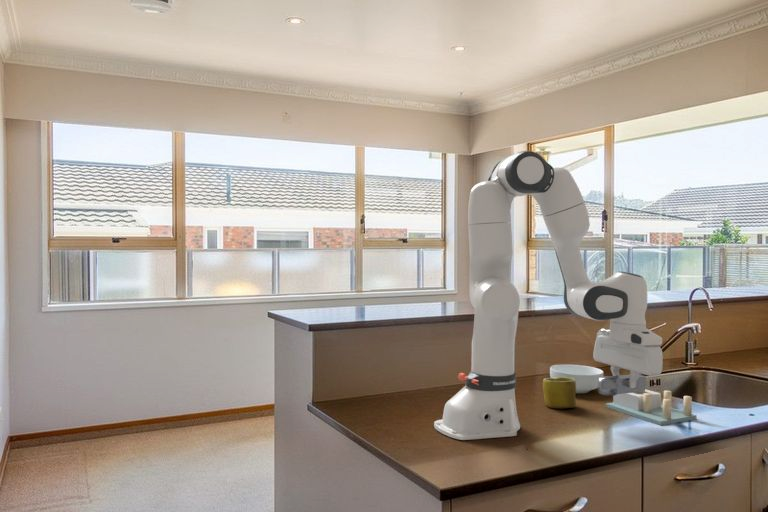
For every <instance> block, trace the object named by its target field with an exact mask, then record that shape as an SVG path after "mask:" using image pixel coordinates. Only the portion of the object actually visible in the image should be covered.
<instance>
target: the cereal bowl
mask: <svg viewBox="0 0 768 512" xmlns="http://www.w3.org/2000/svg"><path fill="white" fill-rule="evenodd" d="M599 376H605V375H604V371H603V370H602V369H600V368H597V367H593V366H590V365H589V366H588V365H581V364H566V363H565V364H554V365H551V366H550V367H549V378H552V377H556V378H560V377H562V378H572V379H575V381H576V394H587V393H589V392H590V391H592V390H596V389H598V380H599Z"/></svg>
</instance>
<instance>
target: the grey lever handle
mask: <svg viewBox="0 0 768 512" xmlns="http://www.w3.org/2000/svg"><path fill="white" fill-rule="evenodd" d="M631 376H632V375H630V374H623V375H622V374H620V375H619V376H613V375H609V376H608V375H607V376H606V375H604V376H599V380H598V388H597V393H598V394H600V395H603V396H610V397H611V396H612V397H613V396H615V395H617V394H624V393H634V392H643V391H645V389H646V380H647V375H643V374H640V377H639V378H638V380H637V381H636V387H635V388H630V387H627V380H630V378H631Z"/></svg>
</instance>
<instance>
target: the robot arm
mask: <svg viewBox="0 0 768 512" xmlns="http://www.w3.org/2000/svg"><path fill="white" fill-rule="evenodd" d="M527 195H528V196H531V197H532V198H533V199H534V200H535V201H536V202H537V205H539V209H540V212H541V216H542V217H543V218H542V219H543V221H544V224H545V226H546V229H547V231H548V234H549V236H550V238H551V243H552V244H553V248H554V251H555V254H556V255H555V256H556V259H557V263H558V266H559V269H560V273H561V275H562V279H563V285H564V289H563V302H564V306H565V308H566V309H567V311H569V313H570V314H572V315H573V316H575V317H578V318H580V317H581V318H586V319H591V320H594V321H606V320H607V321H608V320H609V329H606V328H601V329H600V330H598V332H597V333H596V339H595V341H594V342H595V343H594V347H593V353H592V357H593V360H594V361H595V362H597V363H600V364H606V365H609V366H610V372H611V374H612V376H619V375H621V374H620V370H621V369H623V370H627V371H630V372H629V375H632V376H631V378H630V380H627V387H630V388H635V387H636V381H637V380H638V378H639V377H640V375H644V376H649V377H656V376H660V375H661V373H662V372H663V367H664V365H663V360H664V357H663V349H662V348H661V345H662V344H663V337H662V336H660V335H659V334H656V333H655V332H653V331H652V330H650V329H648V328H647V321H646V312H647V309H648V285H647V281H646V279H645V278H644V277H643V276H642V275H640V274H636V273H631V272H627V271H617V272H615V273H614V274H612V276H609V277H607V278H605V279H603V280H600V281H597V282H593V281H592V280H590V278H589V277H588V275H587V271H586V269H585V265H584V261H583V258H582V254H581V242H582V240H583V239H584V237H585V236H586V235H587V233H588V231H589V229H590V223H591V222H590V216H589V212H588V208H587V205H586V203H585V200H584V198H583V195H582V192H581V190H580V188H579V186H578V184H577V181H576V180H575V179H574V176H572V173H571V172H570V171H569V170H568V169H566V168H564V167H553V166H552V165H551V164H550V163H548V162H547V160H546V159H545V158H544V157H543V156H542V155H541V154H540V153H537V152H534V151H531V150H522V151H518V152H516V153H512V154H510V155H507V156H506V157H504V158H503V159H502V160H500V161H499V162H498V163H497V164H495V165H494V167H493V169H492V171H491V173H490V176H489V177H488V179H487V180H485V181H480V182H479V183H476V184H475V185H474V186H472V188H471V190H470V191H469V198H468V204H467V205H468V209H467V224H468V229H467V230H468V241H469V242H468V247H469V250H468V251H469V270H468V271H469V274H468V276H469V277H468V278H469V279H468V280H469V281H468V282H469V284H468V285H469V302H470V304H471V306H472V308H473V309H474V316H473V317H474V318H473V331H472V339H471V367H470V368H471V370H470V371H469V373H468V375H467V374H466V373H463V372H460V373H459V374H458V376H457V378H458V380H459V381H462V382H465V384H464V385H465V386H463V387H462V388H461V389H460V390H459V391H458V392H457V393H456V394H454V395H453V396H452V397H451V398H450V399H449V400H447V401H446V403H445V404H444V408H443V414H442V419H437V420H435V421H434V422H433V426H434V429H435V430H436V431H438V432H439V433H440V434H443V435H445V436H447V437H449V438H453V439H456V440H461V441H466V440H467V441H468V440H469V441H470V440H481V439H492V438H493V439H494V438H506V437H516V436H517V435H518V431H519V430H520V429H521V424H520V422H519V421H520V420H519V416H518V412H517V404H516V394H515V390H516V387H517V372H515V345H516V335H517V331H518V330H517V328H518V320H519V310H520V306H521V299H520V294H519V292H518V289H517V288H516V287H515V285H514V284H513V283H511V273H512V272H511V271H512V260H513V253H514V251H513V233H512V232H513V231H512V229H513V228H512V219H511V218H512V215H511V210H512V209H511V208H512V202H513V200H514V198H517V197H523V196H527Z"/></svg>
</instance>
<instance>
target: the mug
mask: <svg viewBox="0 0 768 512" xmlns="http://www.w3.org/2000/svg"><path fill="white" fill-rule="evenodd" d="M542 390H543V397H544V404H545V405H546V407H548V408H550V409H558V410H559V409H571V408H576V405H577V404H576V403H577V401H576V394H577V393H576V381H575V379H572V378H562V377H560V378H556V377H552V378H551V377H545V378H543V380H542Z"/></svg>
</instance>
